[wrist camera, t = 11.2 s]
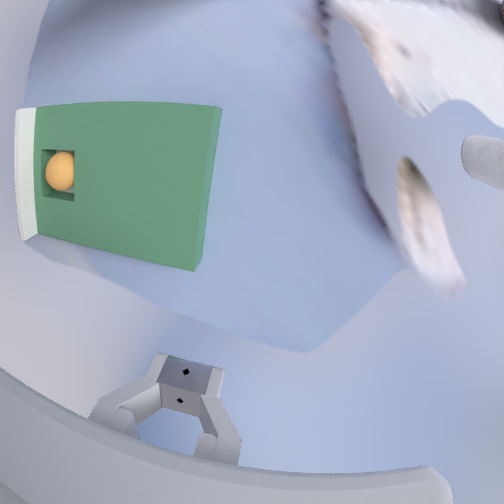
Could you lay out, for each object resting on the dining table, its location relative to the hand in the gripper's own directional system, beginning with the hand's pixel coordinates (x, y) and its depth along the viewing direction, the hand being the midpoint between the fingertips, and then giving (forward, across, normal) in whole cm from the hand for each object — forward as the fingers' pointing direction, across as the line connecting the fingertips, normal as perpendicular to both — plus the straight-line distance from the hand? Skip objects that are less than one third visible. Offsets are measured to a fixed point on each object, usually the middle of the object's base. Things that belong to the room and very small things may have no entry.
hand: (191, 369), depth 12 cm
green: (+23, +18, -2) cm, 29 cm away
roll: (+23, -26, -14) cm, 38 cm away
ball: (+20, +24, -2) cm, 32 cm away
